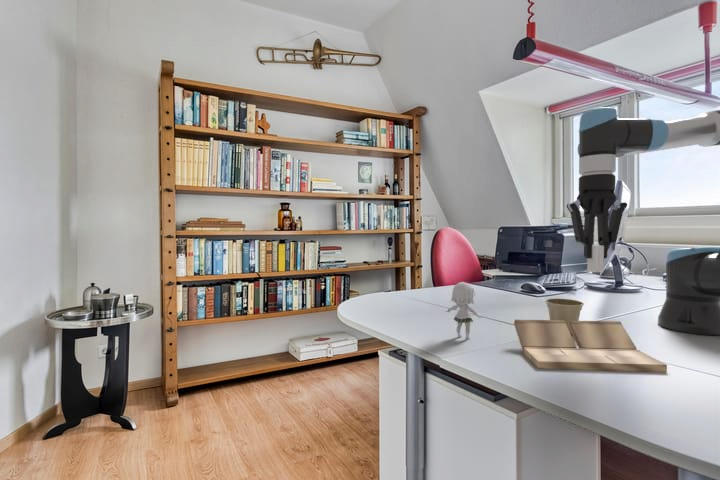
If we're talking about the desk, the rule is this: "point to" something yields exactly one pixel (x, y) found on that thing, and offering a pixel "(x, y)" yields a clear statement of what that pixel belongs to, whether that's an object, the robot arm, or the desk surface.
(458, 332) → the figurine
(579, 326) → the plank
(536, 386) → the desk surface
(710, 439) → the desk surface
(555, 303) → the flower pot
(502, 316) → the desk surface
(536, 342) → the plank
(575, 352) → the floor strip
